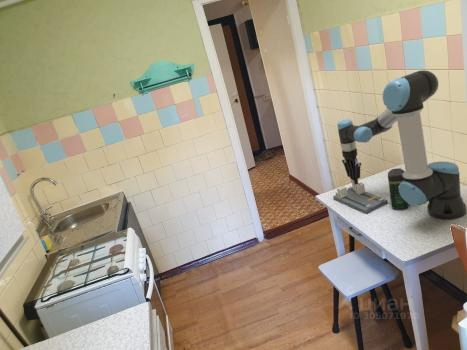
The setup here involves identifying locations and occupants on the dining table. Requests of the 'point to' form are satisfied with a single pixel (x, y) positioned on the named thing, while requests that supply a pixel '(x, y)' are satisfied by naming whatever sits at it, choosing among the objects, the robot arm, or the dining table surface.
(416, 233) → the dining table surface
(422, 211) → the dining table surface
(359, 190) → the fader
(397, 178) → the coffee jar
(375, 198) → the console
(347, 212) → the dining table surface
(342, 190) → the fader
